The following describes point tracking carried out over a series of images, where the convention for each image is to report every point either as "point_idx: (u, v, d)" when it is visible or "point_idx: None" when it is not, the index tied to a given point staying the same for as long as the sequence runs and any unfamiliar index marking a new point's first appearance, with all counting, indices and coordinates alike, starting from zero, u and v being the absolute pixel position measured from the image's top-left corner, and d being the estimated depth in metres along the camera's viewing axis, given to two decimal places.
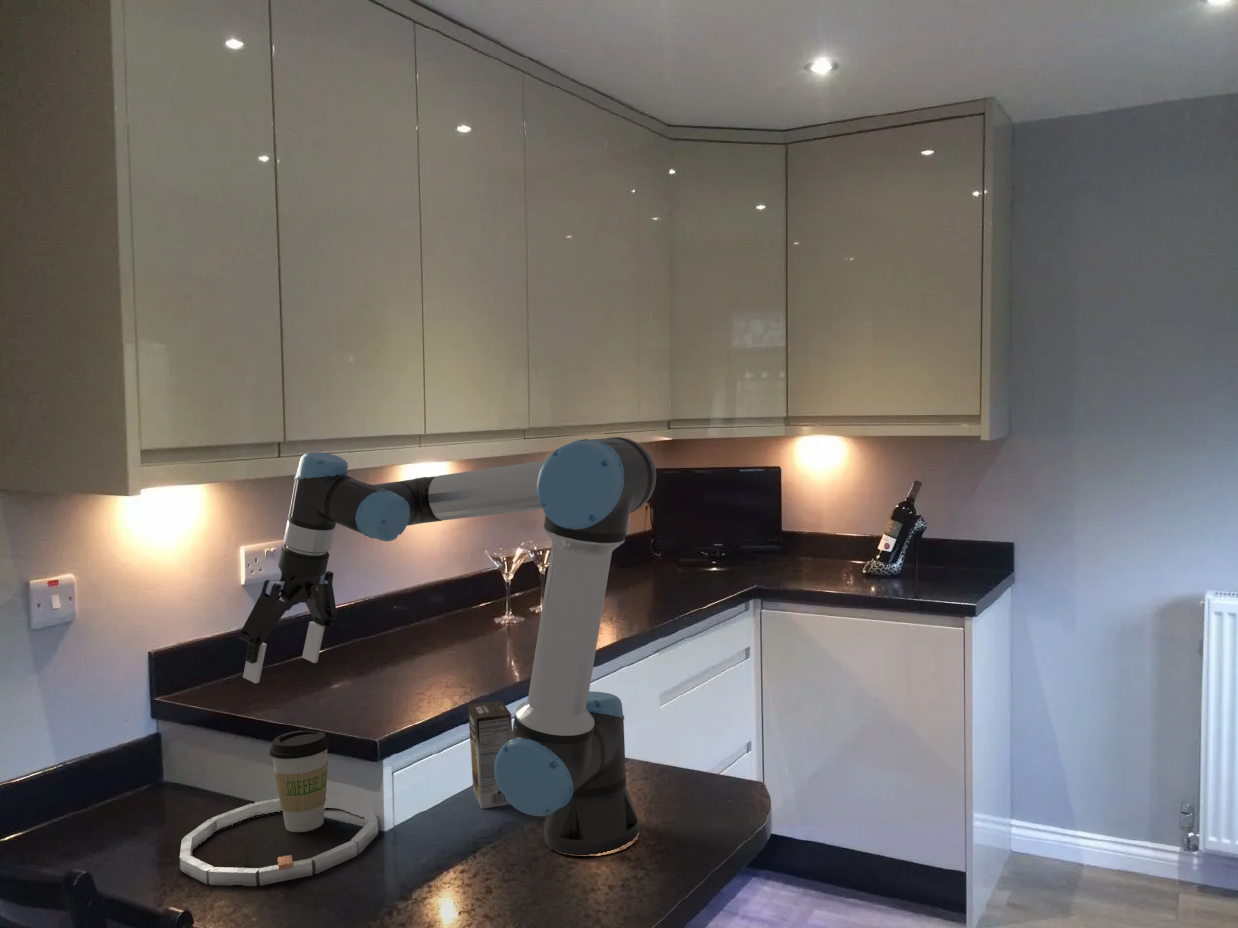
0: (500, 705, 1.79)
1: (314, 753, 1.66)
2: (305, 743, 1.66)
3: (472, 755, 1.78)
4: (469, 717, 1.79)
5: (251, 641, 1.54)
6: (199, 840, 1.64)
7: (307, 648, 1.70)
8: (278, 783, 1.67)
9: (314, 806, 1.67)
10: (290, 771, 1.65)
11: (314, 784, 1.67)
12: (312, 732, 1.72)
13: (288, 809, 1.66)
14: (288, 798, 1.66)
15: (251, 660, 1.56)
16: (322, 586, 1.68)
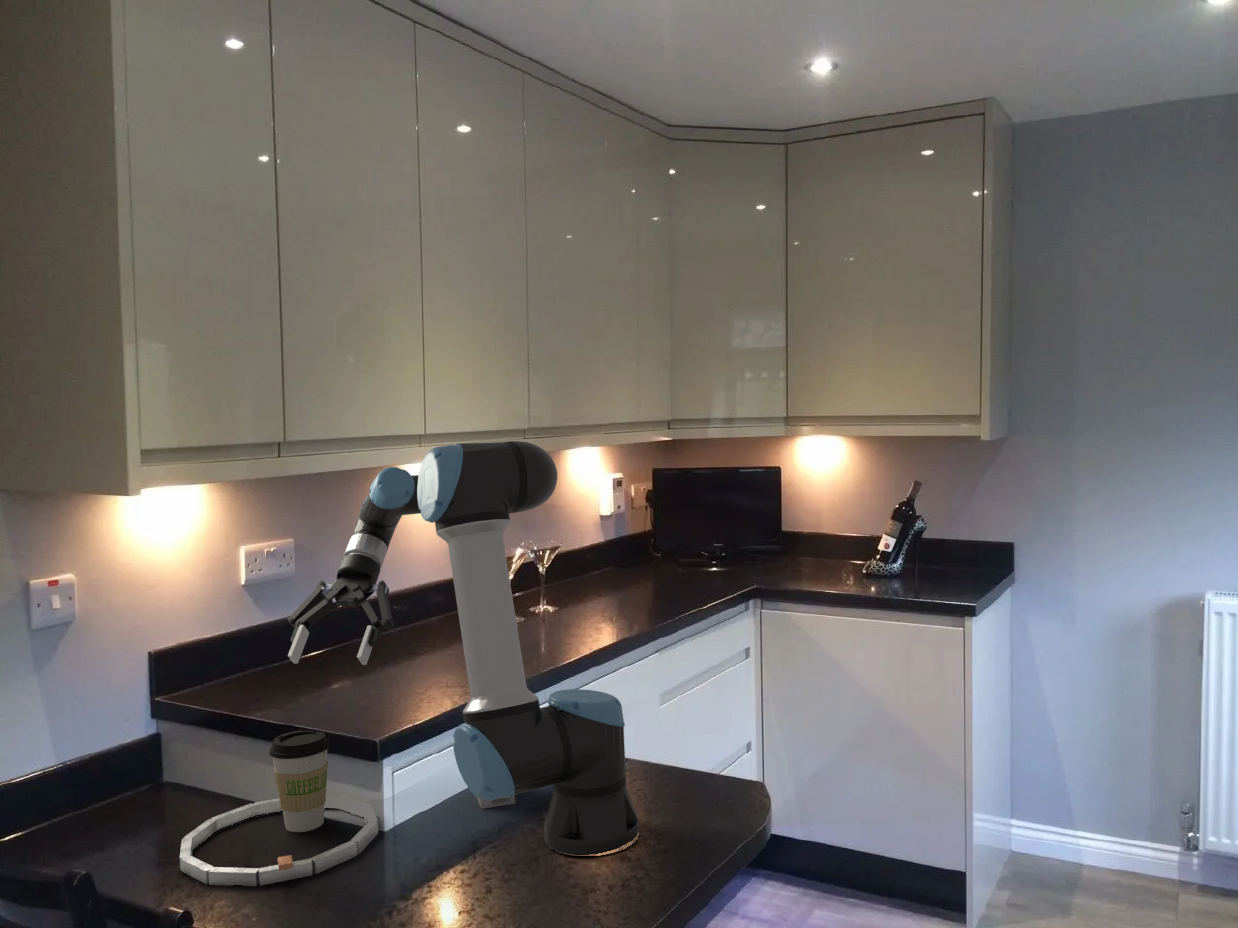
0: None
1: (314, 753, 1.66)
2: (305, 743, 1.66)
3: None
4: None
5: (288, 619, 1.85)
6: (199, 840, 1.64)
7: None
8: (278, 783, 1.67)
9: (314, 806, 1.67)
10: (290, 771, 1.65)
11: (314, 784, 1.67)
12: (312, 732, 1.72)
13: (288, 809, 1.66)
14: (288, 798, 1.66)
15: (291, 639, 1.82)
16: None
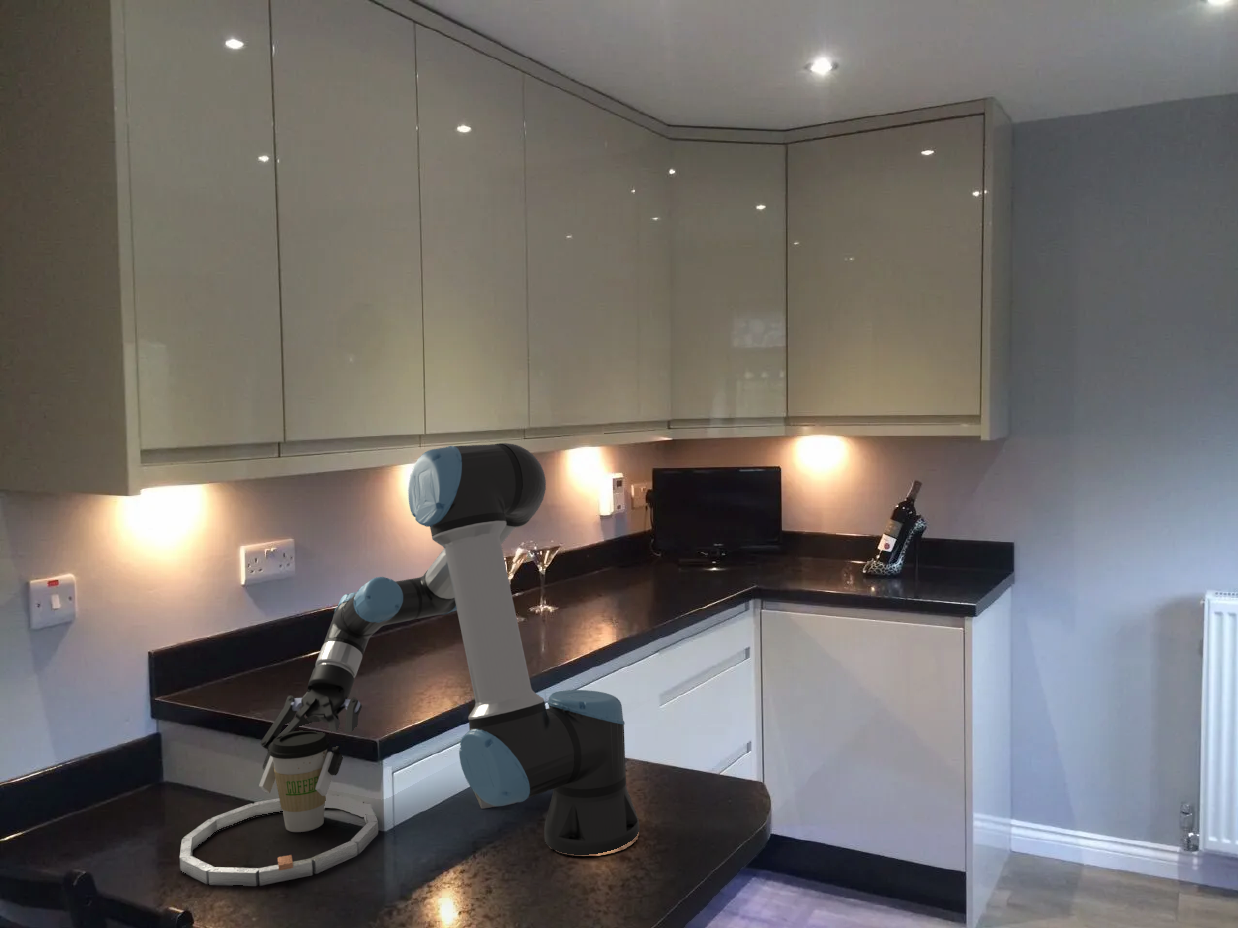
0: None
1: (314, 753, 1.66)
2: (305, 743, 1.66)
3: None
4: None
5: (261, 743, 1.73)
6: (199, 840, 1.64)
7: None
8: (278, 783, 1.67)
9: (314, 806, 1.67)
10: (290, 771, 1.65)
11: (314, 784, 1.67)
12: (312, 732, 1.72)
13: (288, 809, 1.66)
14: (288, 798, 1.66)
15: (263, 765, 1.70)
16: None
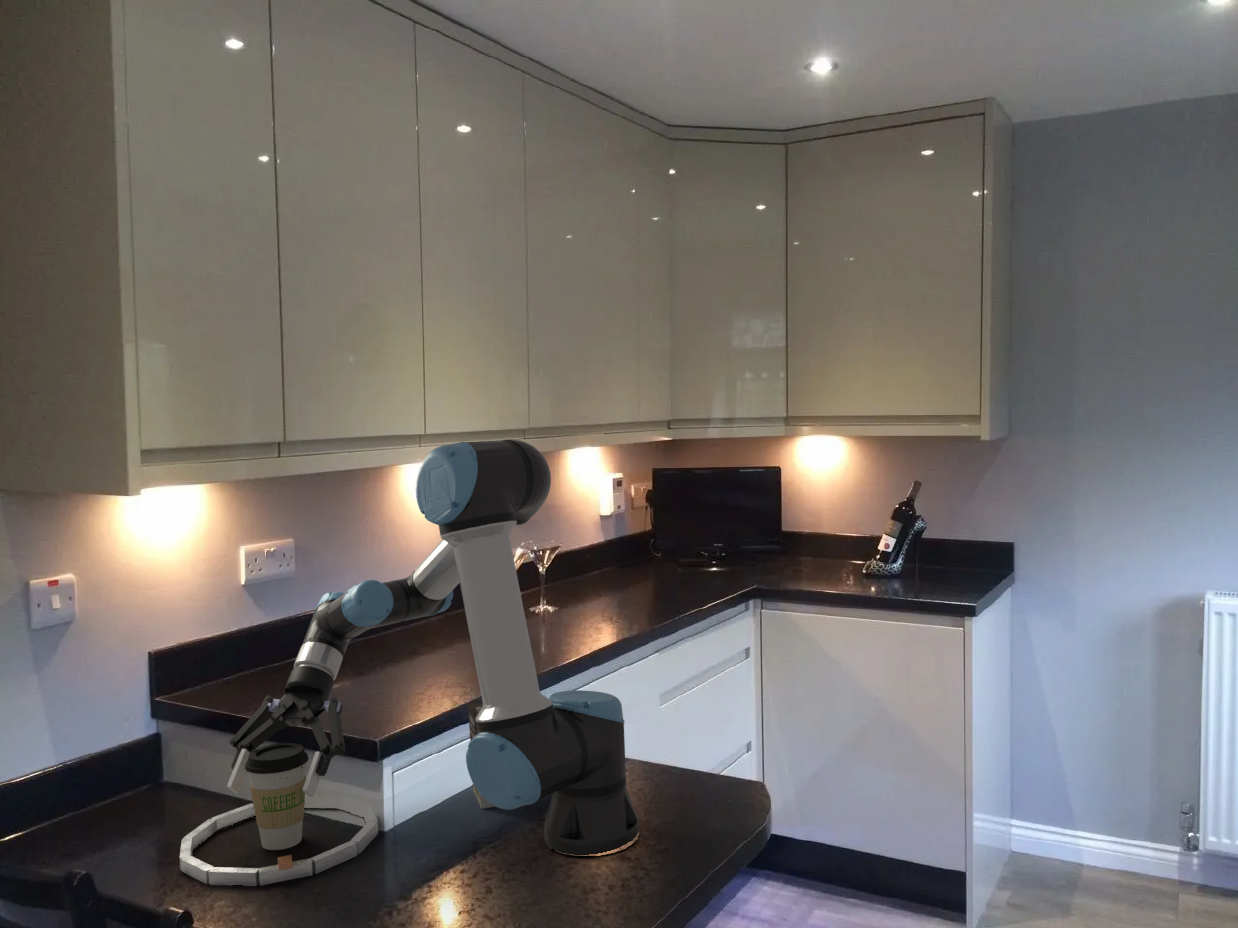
0: None
1: (291, 768, 1.59)
2: (282, 757, 1.59)
3: None
4: (469, 717, 1.79)
5: (230, 741, 1.67)
6: (199, 840, 1.64)
7: None
8: (254, 799, 1.60)
9: (291, 823, 1.60)
10: (267, 786, 1.58)
11: (292, 800, 1.60)
12: (290, 745, 1.65)
13: (264, 826, 1.60)
14: (264, 815, 1.59)
15: (232, 765, 1.64)
16: None
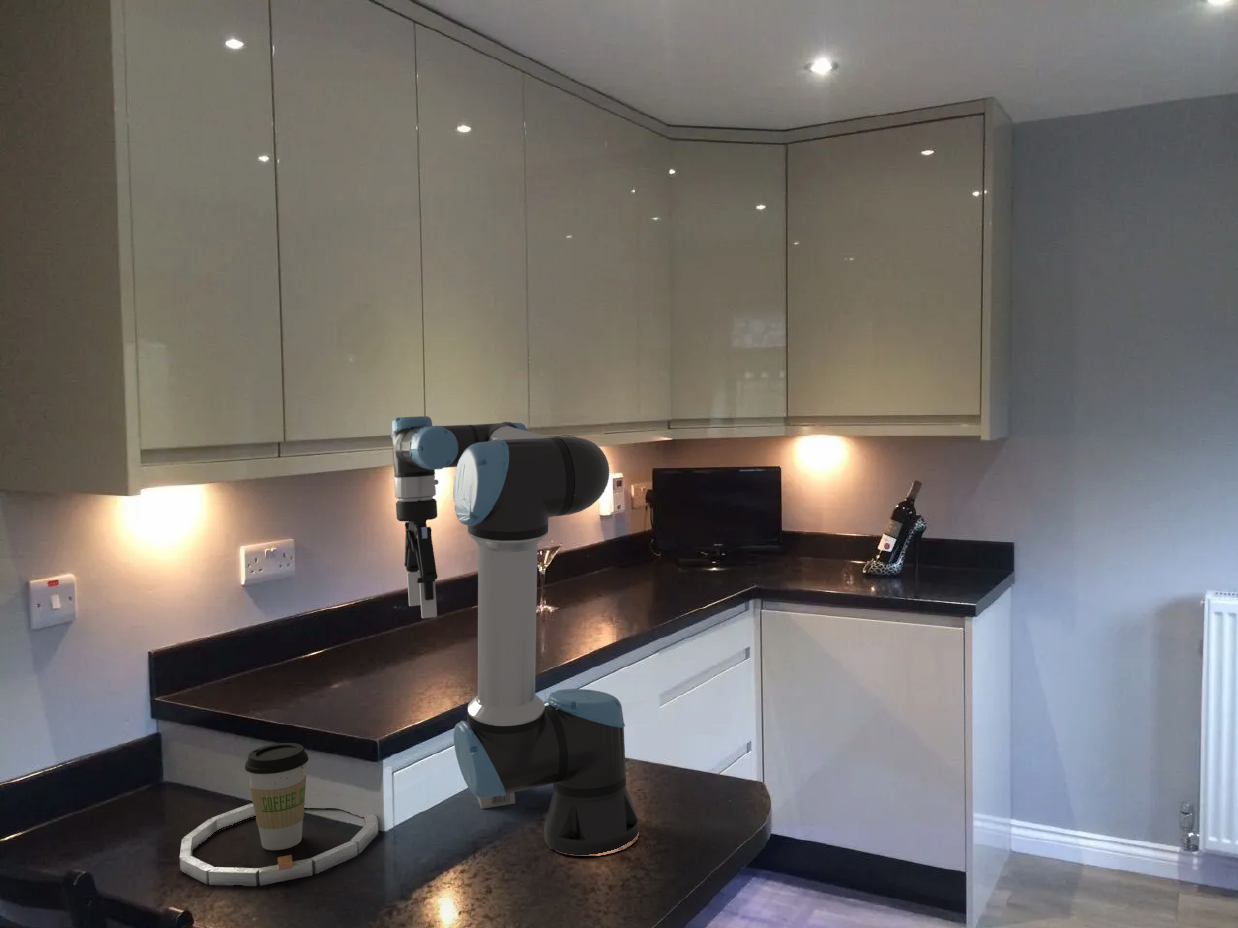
0: None
1: (291, 768, 1.59)
2: (282, 757, 1.59)
3: None
4: None
5: None
6: (199, 840, 1.64)
7: None
8: (254, 799, 1.60)
9: (291, 823, 1.60)
10: (267, 786, 1.58)
11: (292, 800, 1.60)
12: (290, 745, 1.65)
13: (264, 826, 1.60)
14: (265, 815, 1.59)
15: None
16: None
